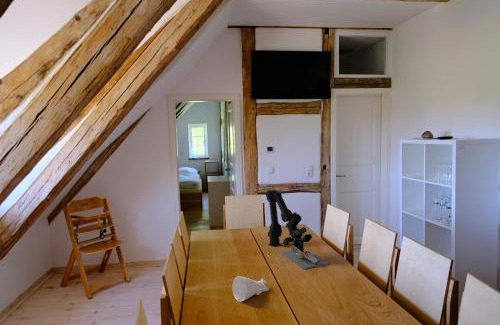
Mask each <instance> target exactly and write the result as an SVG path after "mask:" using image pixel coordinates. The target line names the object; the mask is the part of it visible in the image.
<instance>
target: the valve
mask: <svg viewBox="0 0 500 325" xmlns="http://www.w3.org/2000/svg"><path fill="white" fill-rule="evenodd" d="M291 250H293V251H294V252H296V253H301V251H300V250H299V249H298V248H296V247H295V246H293V245H291ZM304 251H307V252H308V254H305V255H301V256H299V258H301V259H307V260H308V261H310V262H312V263H313V264H315V265H316V264H318V262H319V261H318V259H317V258H315V257H313V256H312V255H310V252H311V250H309V249H308V248H305V249H304Z"/></svg>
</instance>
